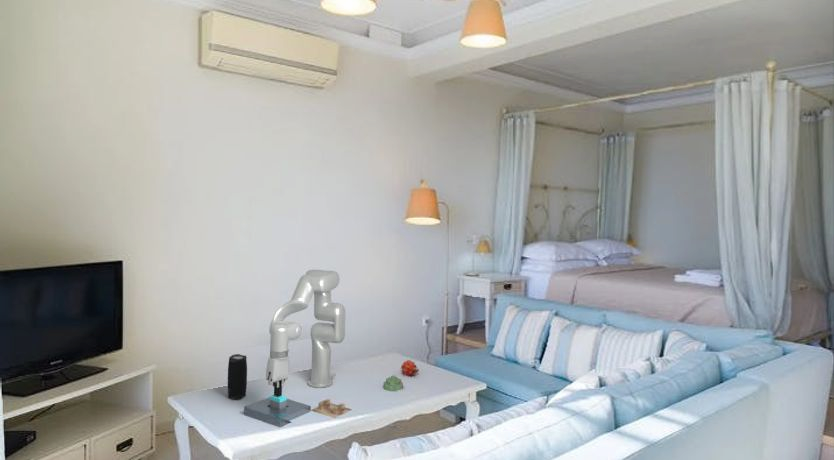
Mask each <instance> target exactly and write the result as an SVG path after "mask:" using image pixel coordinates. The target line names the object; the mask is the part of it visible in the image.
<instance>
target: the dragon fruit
mask: <svg viewBox="0 0 834 460" xmlns="http://www.w3.org/2000/svg"><path fill="white" fill-rule="evenodd" d="M400 369H401V373H402V374H403V375H406V377H409V376H410V375H411V376H410V377H409V378H411V377H412V375H413V376H415V375H416V373H419V370H420V369H418V367H417V365H416V363H415V362H414V361H412V360H410V359H408V360H405V361H404V362H403V363H402V364H401V368H400Z"/></svg>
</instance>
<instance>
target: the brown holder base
mask: <svg viewBox="0 0 834 460" xmlns="http://www.w3.org/2000/svg"><path fill="white" fill-rule="evenodd" d="M352 410H353V409H352V408H348V407H346V403H343V402H342V403H339V404H335V403H332V402H331V399H329V398H327V399H325V400H322V401H320V402H318V407H315V408H313V409H311V412H314V413H317V414H321V415H324V416H327V417H331V418H333V419H335V418H338V417H339V416H343V415H345V414H346V413H348V412H351V411H352Z"/></svg>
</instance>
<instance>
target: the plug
mask: <svg viewBox="0 0 834 460" xmlns="http://www.w3.org/2000/svg"><path fill="white" fill-rule="evenodd" d="M269 397H270V408H273V409H276V410H282V409H284V408H286V399H288V398H287V396H286V395H283V394H282V396H279V397H278V396H275V395H274V394H272V395H269Z"/></svg>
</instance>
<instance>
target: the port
mask: <svg viewBox="0 0 834 460" xmlns="http://www.w3.org/2000/svg"><path fill="white" fill-rule="evenodd" d="M311 407H312V406H311V405H310V404H309V405H308V404H305V403H303V402H299V401H295V400H292V399H289V398H287V399H286V408H284V409H282V410H276V409H273V408H270V396H269V397H266V398H263V399H261V400H259V401H258V400H257V401H256V402H253V403H249V404H248V405H245V406H244V407H243V415H244V416H247V417H250V418H253V419H256V420H258V421H262V422H265V423H267V424H270V425H273V426H276V427H278V428H281V427H284V426H286V425H288V424H290V423H292V421H293V420H295V419H297V418H299V417H302V416H304V415H307V414H308V413H311V412H312V411H311V410H312V409H311Z"/></svg>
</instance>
